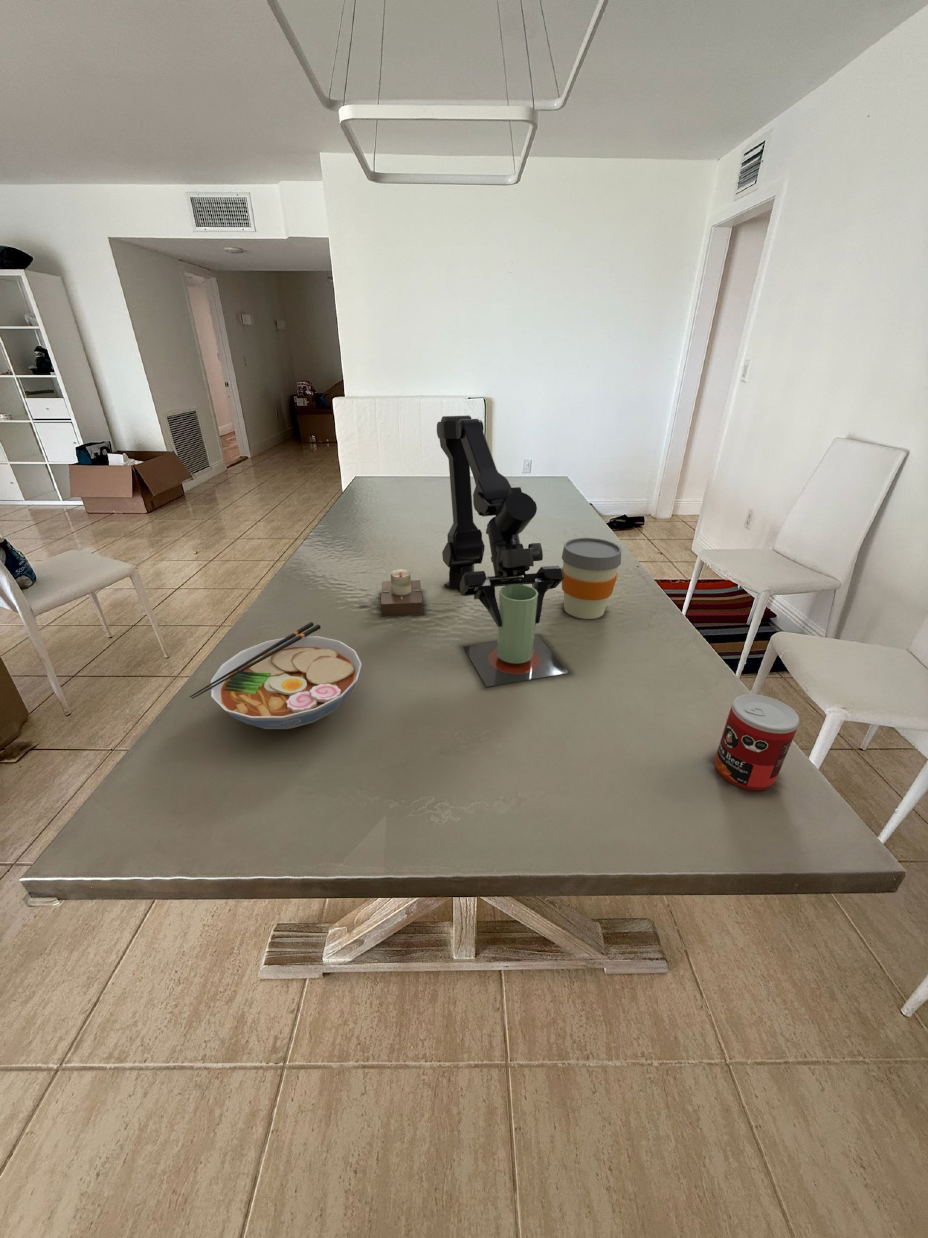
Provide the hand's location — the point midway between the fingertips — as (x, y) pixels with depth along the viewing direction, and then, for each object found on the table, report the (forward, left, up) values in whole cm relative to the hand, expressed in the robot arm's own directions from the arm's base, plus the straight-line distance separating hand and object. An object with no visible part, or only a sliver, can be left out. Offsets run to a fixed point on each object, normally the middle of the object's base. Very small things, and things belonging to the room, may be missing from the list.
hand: (518, 624), depth 94 cm
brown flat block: (-7, -34, -8) cm, 36 cm away
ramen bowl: (+33, -24, -9) cm, 41 cm away
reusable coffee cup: (-28, +2, -9) cm, 30 cm away
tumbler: (-1, -1, -7) cm, 7 cm away
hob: (-1, -1, -8) cm, 8 cm away
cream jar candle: (-7, -34, -5) cm, 35 cm away
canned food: (+7, +40, -9) cm, 42 cm away
